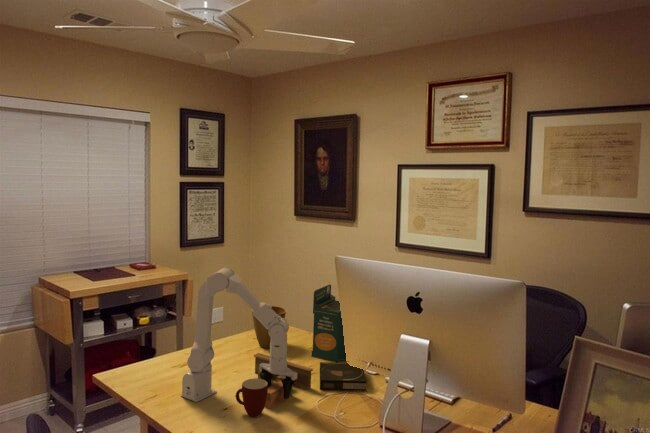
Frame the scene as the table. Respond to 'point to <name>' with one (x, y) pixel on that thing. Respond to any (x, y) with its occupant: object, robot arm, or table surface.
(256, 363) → the board
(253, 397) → the mug
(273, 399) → the brown boxy piece
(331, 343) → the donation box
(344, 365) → the portable cd player
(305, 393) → the table surface
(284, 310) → the plant pot
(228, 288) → the robot arm
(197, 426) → the table surface
